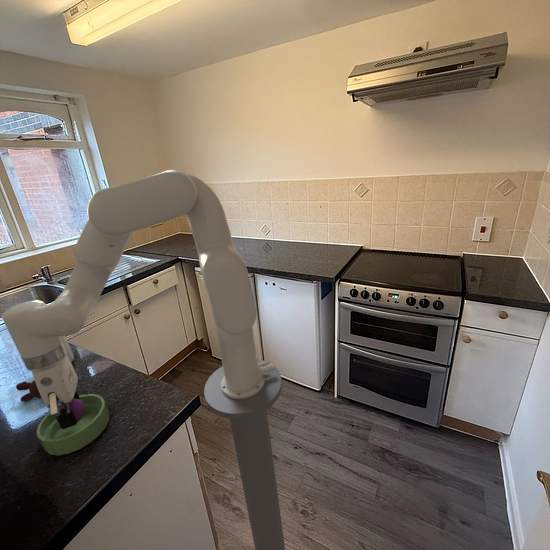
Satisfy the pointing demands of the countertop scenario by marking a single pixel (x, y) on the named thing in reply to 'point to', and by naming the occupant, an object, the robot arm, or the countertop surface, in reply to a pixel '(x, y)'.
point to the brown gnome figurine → (32, 389)
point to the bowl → (74, 428)
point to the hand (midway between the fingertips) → (72, 415)
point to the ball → (75, 408)
